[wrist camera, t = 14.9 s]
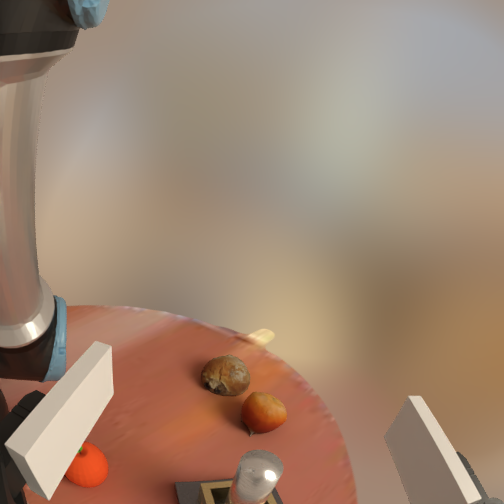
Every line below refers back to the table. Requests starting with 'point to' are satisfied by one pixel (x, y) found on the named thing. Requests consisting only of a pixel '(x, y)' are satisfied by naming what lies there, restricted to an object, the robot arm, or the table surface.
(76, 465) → the clementine
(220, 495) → the gold square holder
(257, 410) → the fruit
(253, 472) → the silver metal tall cylinder
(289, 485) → the table surface
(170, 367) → the table surface
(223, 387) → the bread roll
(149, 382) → the table surface
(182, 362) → the table surface
